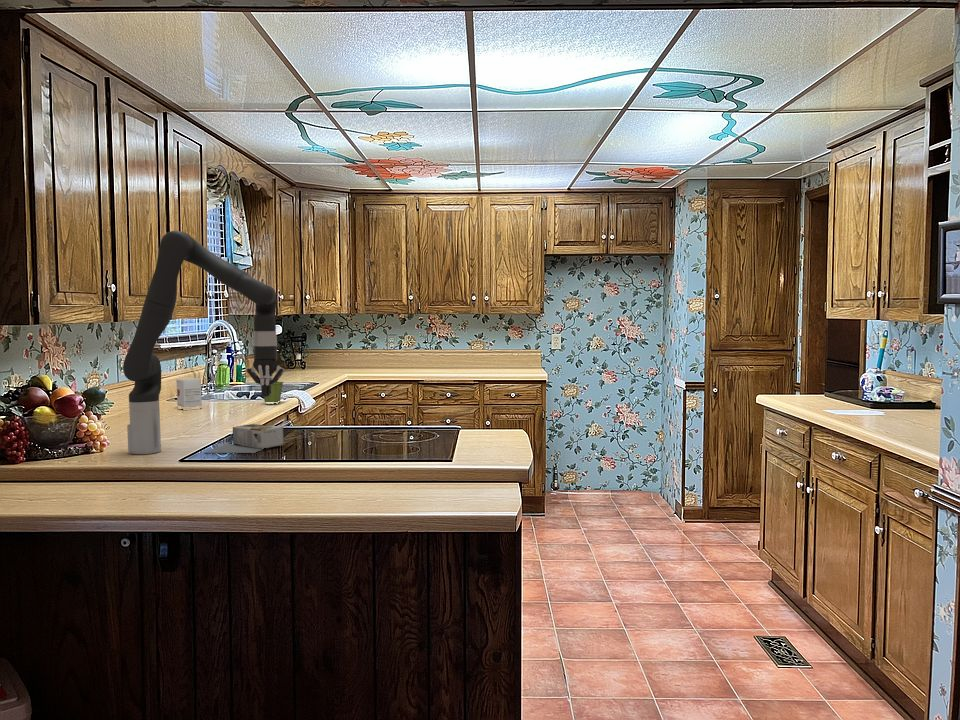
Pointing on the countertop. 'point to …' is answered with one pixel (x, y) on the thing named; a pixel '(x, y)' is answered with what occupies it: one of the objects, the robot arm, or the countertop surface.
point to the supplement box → (189, 392)
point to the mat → (233, 449)
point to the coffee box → (258, 436)
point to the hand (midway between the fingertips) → (266, 396)
